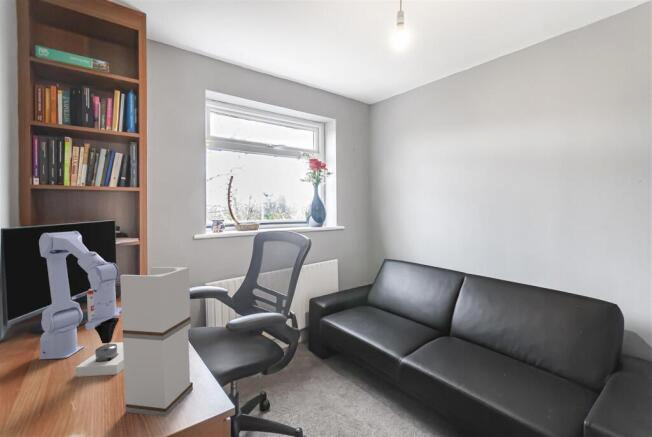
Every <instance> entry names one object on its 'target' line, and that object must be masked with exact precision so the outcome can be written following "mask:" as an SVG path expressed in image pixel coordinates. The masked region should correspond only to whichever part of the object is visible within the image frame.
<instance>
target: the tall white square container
mask: <svg viewBox="0 0 652 437" xmlns="http://www.w3.org/2000/svg"><path fill="white" fill-rule="evenodd" d="M119 279H120V282H119V283H120V300H121V305H120V307H122V313H121V327H122V328H121V329H122V342H123V354H124V369H123V375H124V378H123V379H124V397H125V398H124V399H125V412H126V413H133V414H134V413H135V414H142V415H151V416H155V417H163V418H164V417H167V416H168V415H169V414H170V413H171V412H172V411H173V410H174V409H175V408H176V407H177V406H178V405H179V404H180V403H181V402H182V401H183V400H185V398H186V397H187V396H188V395H189V394H190V393H191V392H192V391H193V390H194V389H193V388H194V386H193V382H191V378H190V377H191V376H190V375H191V373H190V351H189V350H190V346H189V343H190V342H189V340H190V339H189V330H191V329H192V325H191V324H192V323H191V296H190V295H191V294H190V291H191V290H190V288H191V287H190V268H189V267H185V266H184V267H182V266H181V267H180V266H179V267H178V266H175V267H174V266H151V267H150V274H147V275H145V274H138V275H137V274H121V275H120V274H119Z"/></svg>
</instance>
